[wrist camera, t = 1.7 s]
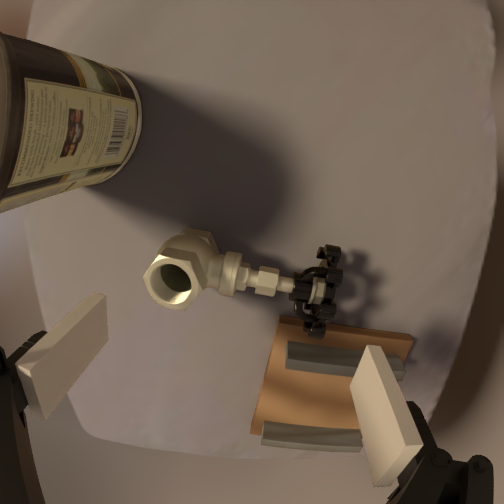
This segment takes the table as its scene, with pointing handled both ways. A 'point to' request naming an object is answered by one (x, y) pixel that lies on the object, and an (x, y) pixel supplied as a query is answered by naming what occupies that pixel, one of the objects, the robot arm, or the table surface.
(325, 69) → the table surface
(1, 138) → the coffee can
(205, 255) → the valve
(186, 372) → the table surface
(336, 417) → the board
